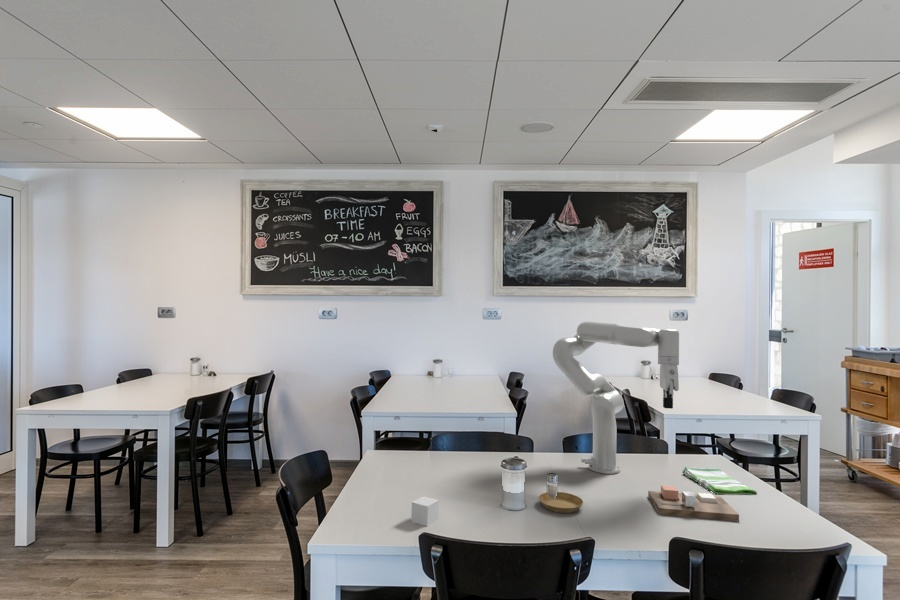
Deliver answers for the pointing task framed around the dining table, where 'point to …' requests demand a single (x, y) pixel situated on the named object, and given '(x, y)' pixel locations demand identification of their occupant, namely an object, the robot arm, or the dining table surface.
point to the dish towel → (717, 481)
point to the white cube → (424, 511)
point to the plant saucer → (561, 502)
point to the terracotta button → (669, 492)
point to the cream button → (706, 498)
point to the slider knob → (688, 499)
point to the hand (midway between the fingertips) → (667, 407)
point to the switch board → (700, 510)
